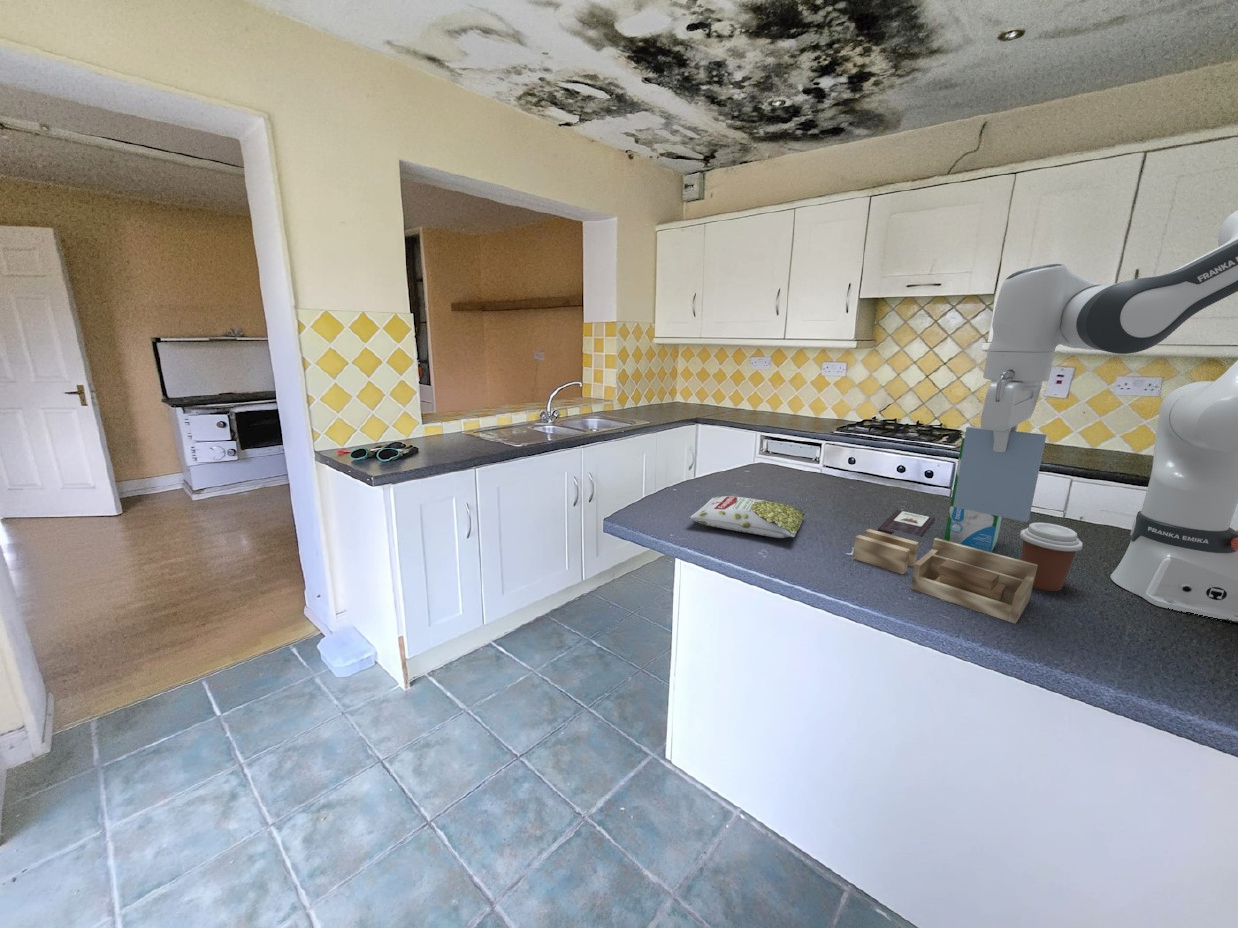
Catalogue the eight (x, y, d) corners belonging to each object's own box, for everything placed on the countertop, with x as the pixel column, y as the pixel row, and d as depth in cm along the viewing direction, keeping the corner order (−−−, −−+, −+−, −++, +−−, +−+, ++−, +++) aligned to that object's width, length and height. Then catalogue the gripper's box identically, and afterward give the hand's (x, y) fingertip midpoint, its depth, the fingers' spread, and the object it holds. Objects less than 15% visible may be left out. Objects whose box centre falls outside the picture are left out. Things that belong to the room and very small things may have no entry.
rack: (1028, 605, 91) (1037, 564, 89) (1014, 628, 84) (1024, 585, 82) (929, 574, 103) (935, 537, 101) (909, 593, 95) (916, 553, 93)
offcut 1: (997, 583, 90) (999, 574, 89) (990, 590, 87) (992, 581, 87) (946, 567, 95) (948, 558, 95) (938, 574, 93) (940, 565, 93)
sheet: (1028, 520, 88) (1046, 434, 84) (1027, 522, 87) (1044, 435, 83) (955, 504, 96) (968, 426, 92) (953, 506, 95) (966, 427, 91)
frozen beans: (795, 524, 113) (688, 507, 124) (793, 549, 114) (687, 529, 125) (807, 500, 131) (713, 487, 142) (805, 522, 132) (712, 507, 143)
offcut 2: (1003, 594, 89) (1005, 585, 89) (999, 602, 87) (1001, 593, 86) (945, 577, 96) (946, 568, 95) (939, 584, 93) (940, 575, 92)
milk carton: (996, 542, 119) (1018, 437, 112) (990, 554, 112) (1013, 443, 106) (951, 532, 125) (970, 431, 118) (943, 542, 118) (962, 437, 112)
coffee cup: (1006, 572, 104) (1018, 517, 101) (1064, 583, 99) (1078, 525, 96) (1013, 591, 96) (1026, 532, 93) (1075, 604, 92) (1091, 542, 89)
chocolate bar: (877, 528, 125) (897, 510, 138) (877, 532, 125) (896, 513, 138) (918, 538, 119) (935, 518, 132) (918, 542, 120) (934, 521, 133)
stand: (914, 568, 105) (919, 542, 104) (902, 578, 101) (906, 551, 99) (865, 553, 113) (868, 528, 111) (851, 562, 108) (855, 537, 106)
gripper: (1027, 373, 76) (1010, 463, 79) (1052, 367, 89) (1036, 444, 93) (977, 371, 80) (963, 456, 84) (1008, 365, 94) (994, 439, 97)
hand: (1001, 449), depth 88 cm, fingers closed on sheet, 1 cm apart
